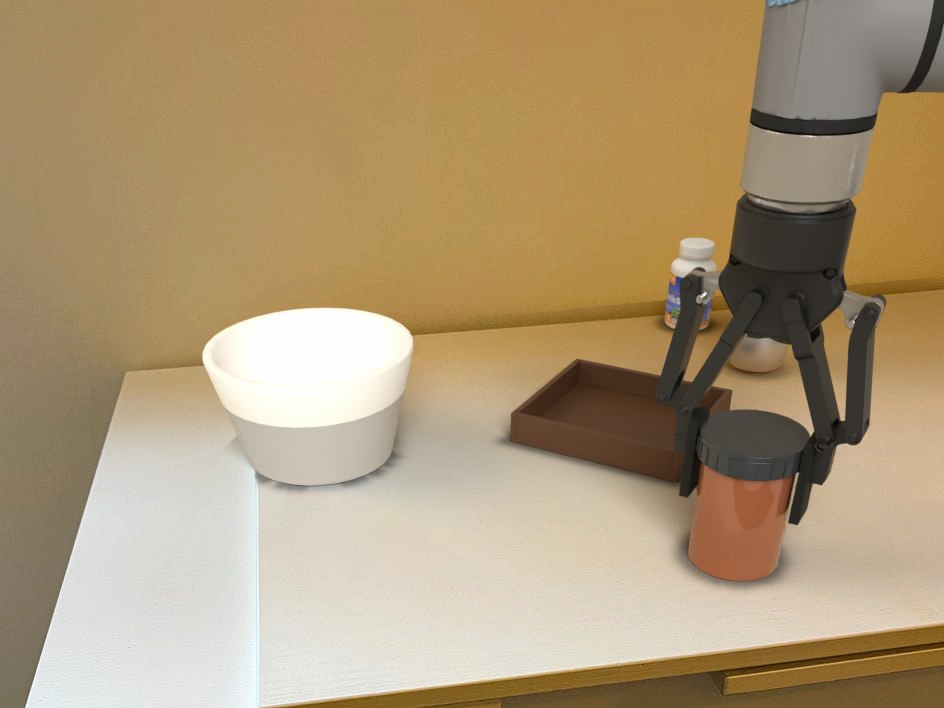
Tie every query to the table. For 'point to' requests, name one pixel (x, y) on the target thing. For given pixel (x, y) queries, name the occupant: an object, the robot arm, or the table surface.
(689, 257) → the pill bottle
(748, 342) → the silver bottle
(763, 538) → the jam jar
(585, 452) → the tray
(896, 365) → the table surface
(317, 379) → the bowl
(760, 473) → the jar lid
